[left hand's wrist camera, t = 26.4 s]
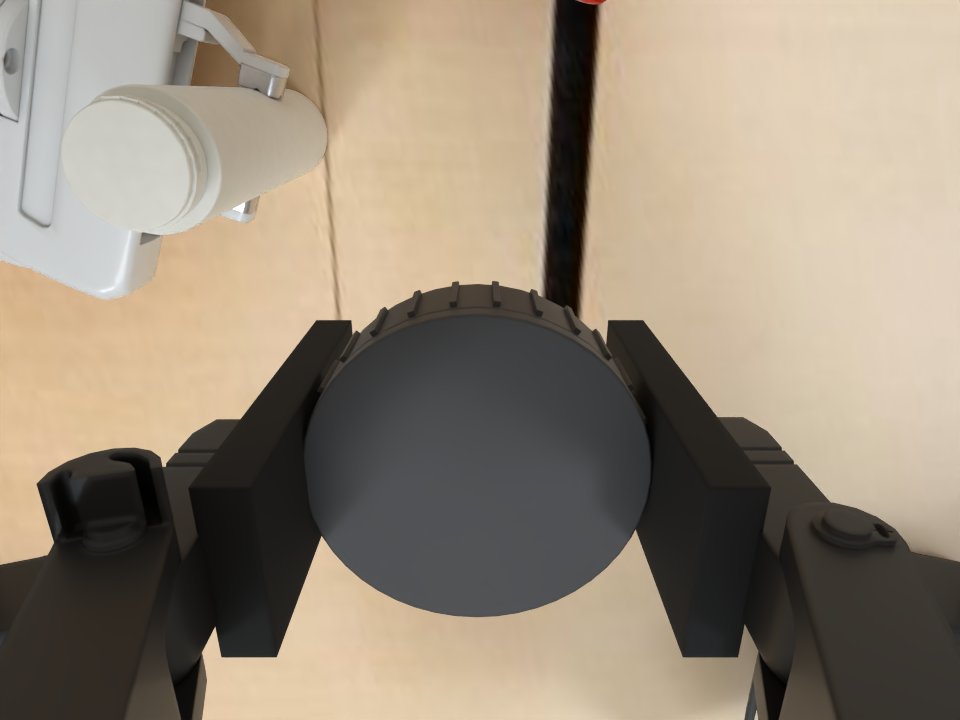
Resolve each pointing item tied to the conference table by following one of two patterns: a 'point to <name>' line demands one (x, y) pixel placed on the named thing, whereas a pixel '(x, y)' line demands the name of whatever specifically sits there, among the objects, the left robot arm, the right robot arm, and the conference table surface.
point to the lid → (477, 452)
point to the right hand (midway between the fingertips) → (269, 146)
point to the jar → (186, 152)
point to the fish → (592, 1)
